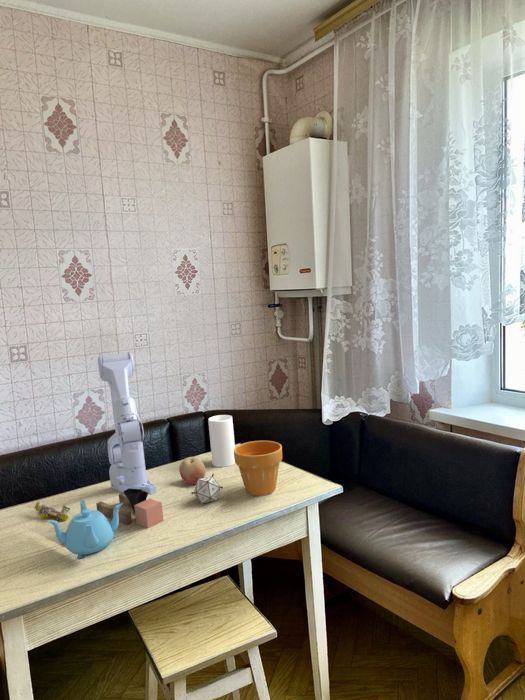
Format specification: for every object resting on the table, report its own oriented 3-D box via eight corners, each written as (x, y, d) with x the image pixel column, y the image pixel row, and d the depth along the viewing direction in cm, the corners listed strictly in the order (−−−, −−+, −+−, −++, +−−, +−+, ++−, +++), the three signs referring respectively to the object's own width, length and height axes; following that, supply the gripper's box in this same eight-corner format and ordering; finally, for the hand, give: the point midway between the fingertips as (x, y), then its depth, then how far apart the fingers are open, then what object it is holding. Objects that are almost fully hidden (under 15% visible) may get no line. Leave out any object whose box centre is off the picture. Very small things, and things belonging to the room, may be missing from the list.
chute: (97, 517, 149) (96, 503, 149) (124, 505, 156) (122, 492, 155) (128, 529, 140) (126, 514, 140) (154, 516, 147) (153, 502, 146)
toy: (50, 502, 158) (79, 509, 149) (42, 519, 156) (70, 528, 147) (36, 496, 155) (63, 503, 145) (27, 514, 153) (55, 522, 143)
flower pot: (283, 479, 166) (280, 438, 165) (286, 497, 152) (283, 453, 150) (237, 483, 166) (234, 442, 164) (237, 501, 152) (233, 457, 150)
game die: (213, 517, 151) (216, 498, 145) (186, 507, 153) (187, 488, 146) (225, 492, 158) (228, 472, 151) (198, 482, 159) (200, 462, 152)
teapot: (93, 567, 122) (88, 525, 121) (49, 559, 127) (43, 519, 126) (128, 540, 134) (123, 501, 133) (86, 534, 139) (81, 497, 138)
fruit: (182, 489, 165) (179, 464, 164) (179, 480, 172) (177, 456, 171) (207, 485, 166) (205, 460, 165) (204, 476, 174) (202, 452, 173)
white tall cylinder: (209, 467, 182) (205, 421, 180) (215, 459, 190) (211, 415, 188) (233, 466, 181) (229, 420, 179) (238, 458, 189) (234, 414, 187)
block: (136, 523, 141) (134, 505, 140) (151, 516, 144) (149, 498, 144) (148, 527, 137) (146, 509, 137) (163, 520, 141) (161, 502, 140)
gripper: (105, 465, 143) (111, 513, 145) (138, 475, 134) (144, 526, 136) (127, 457, 149) (132, 504, 150) (160, 466, 139) (165, 515, 141)
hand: (139, 514), depth 143 cm, fingers closed
